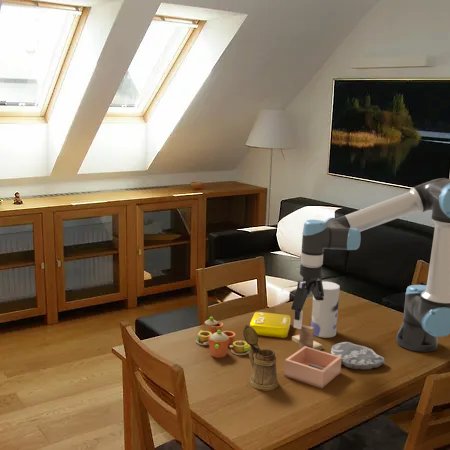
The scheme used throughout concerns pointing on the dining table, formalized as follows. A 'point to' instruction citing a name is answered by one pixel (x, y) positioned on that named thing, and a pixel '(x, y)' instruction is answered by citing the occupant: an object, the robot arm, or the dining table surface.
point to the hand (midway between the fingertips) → (306, 322)
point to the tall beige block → (306, 336)
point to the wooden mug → (261, 363)
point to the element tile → (271, 324)
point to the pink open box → (312, 366)
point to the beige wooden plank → (315, 344)
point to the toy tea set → (221, 340)
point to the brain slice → (357, 356)
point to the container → (327, 311)
